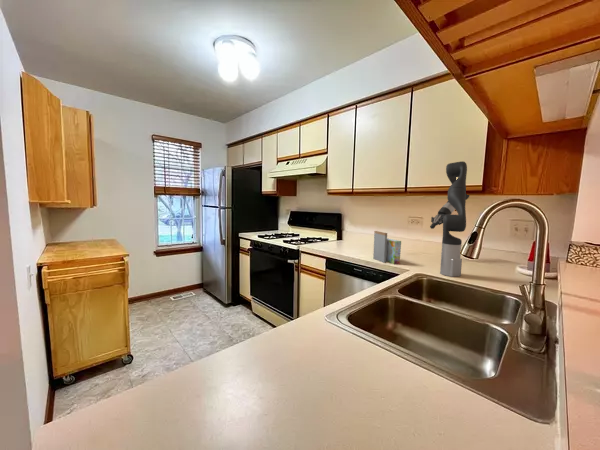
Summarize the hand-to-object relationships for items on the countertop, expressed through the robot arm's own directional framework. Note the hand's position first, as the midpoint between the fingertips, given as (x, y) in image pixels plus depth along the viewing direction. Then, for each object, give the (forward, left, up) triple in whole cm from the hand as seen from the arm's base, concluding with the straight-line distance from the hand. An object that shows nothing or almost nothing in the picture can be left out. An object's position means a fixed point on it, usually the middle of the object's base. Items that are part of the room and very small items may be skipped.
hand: (431, 227), depth 182 cm
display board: (+3, +38, -22) cm, 44 cm away
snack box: (+3, +33, -22) cm, 40 cm away
